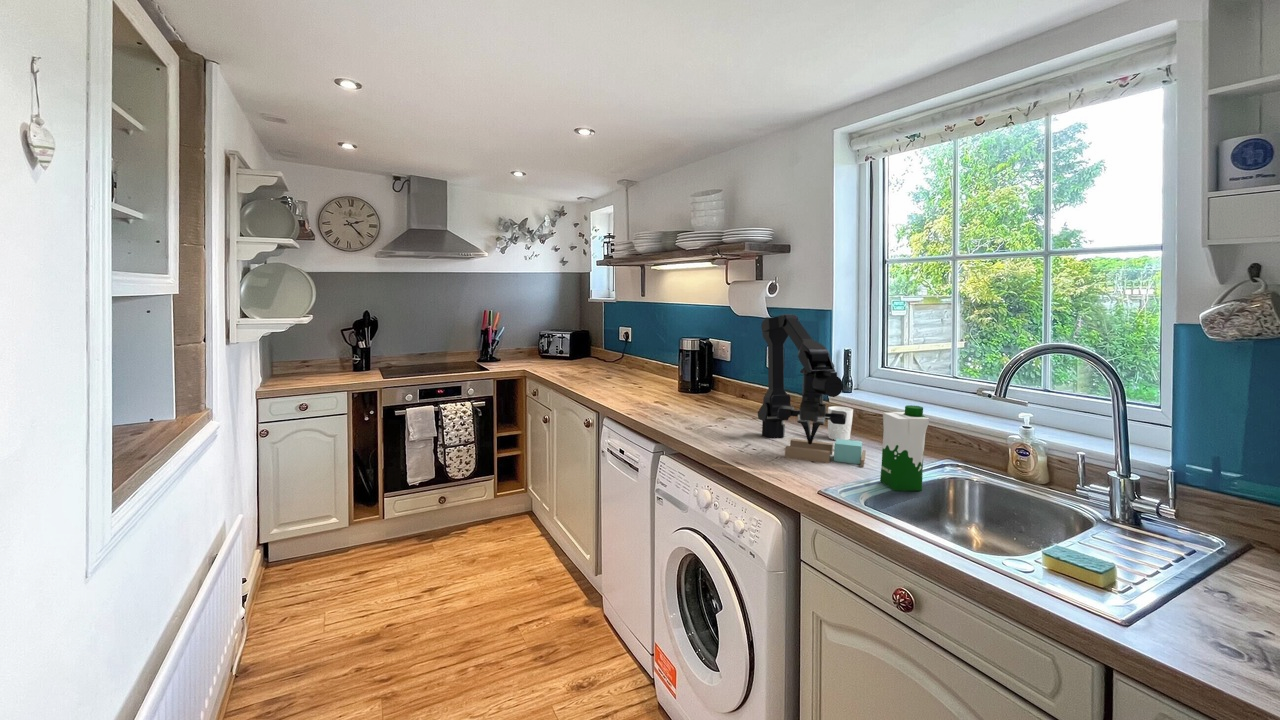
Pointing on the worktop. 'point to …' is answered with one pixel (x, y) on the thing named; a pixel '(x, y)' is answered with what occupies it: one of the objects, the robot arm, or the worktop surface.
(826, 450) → the chute
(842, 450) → the block
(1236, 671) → the worktop surface
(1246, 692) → the worktop surface
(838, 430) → the white cup
